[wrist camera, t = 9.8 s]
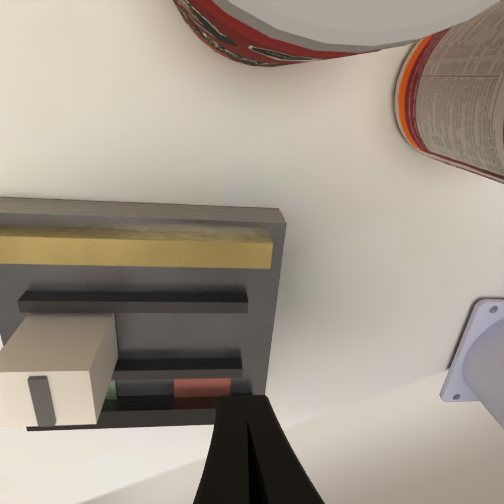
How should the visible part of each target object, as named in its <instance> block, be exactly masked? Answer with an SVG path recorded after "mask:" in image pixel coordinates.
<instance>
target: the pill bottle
mask: <svg viewBox="0 0 504 504" xmlns="http://www.w3.org/2000/svg"><path fill="white" fill-rule="evenodd" d="M395 113H396V118H397V122H398V125H399V128H400V130H401V132H402V134H403V136H404V137H405V139H406V140H407V141H408V143H409V144H410V145H411V146H412V147H413V148H415V149H416V150H417V151H419V152H420V153H422V154H424V155H426V156H428V157H430V158H433V159H436V160H438V161H441V162H444V163H446V164H448V165H452V166H455V167H458V168H461V169H464V170H467V171H470V172H472V173H475V174H478V175H481V176H484V177H486V178H489V179H492V180H494V181H497V182H500V183H503V184H504V0H500V1H499V2H497V3H496V4H494V5H492V6H491V7H489V8H487V9H486V10H484V11H482V12H481V13H479V14H478V15H476V16H474V17H473V18H471V19H469V20H467V21H464V22H462V23H459V24H457V25H454V26H452V27H450V28H448V29H446V30H443V31H440V32H438V33H435V34H433V35H430V36H427V37H425V38H422V39H420V40H419V41H418V42H417V43H416V45H415V46H414V48H413V49H412V50H411V52H410V53H409V55H408V57H407V58H406V60H405V62H404V64H403V66H402V69H401V72H400V74H399V77H398V81H397V85H396V92H395Z"/></svg>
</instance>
